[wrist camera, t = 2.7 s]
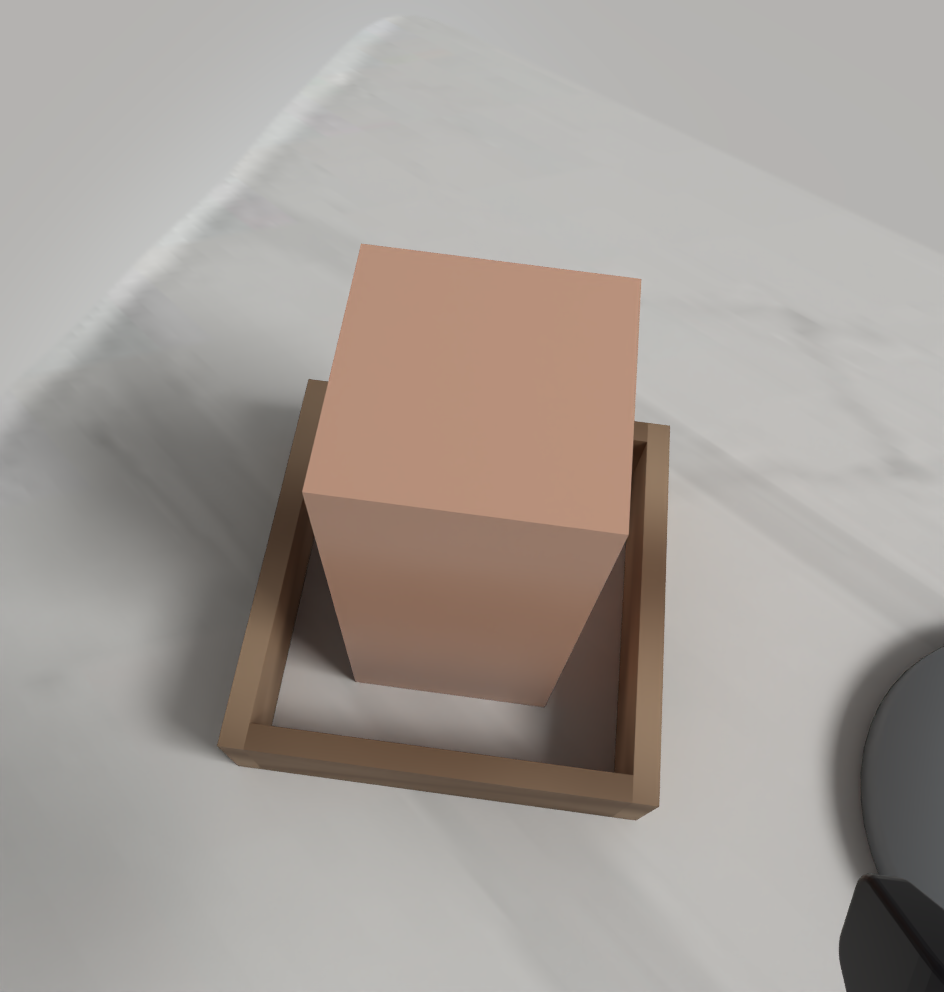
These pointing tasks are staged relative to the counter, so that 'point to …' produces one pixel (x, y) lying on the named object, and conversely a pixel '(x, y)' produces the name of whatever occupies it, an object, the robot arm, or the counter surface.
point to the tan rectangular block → (473, 468)
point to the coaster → (908, 779)
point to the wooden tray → (445, 770)
